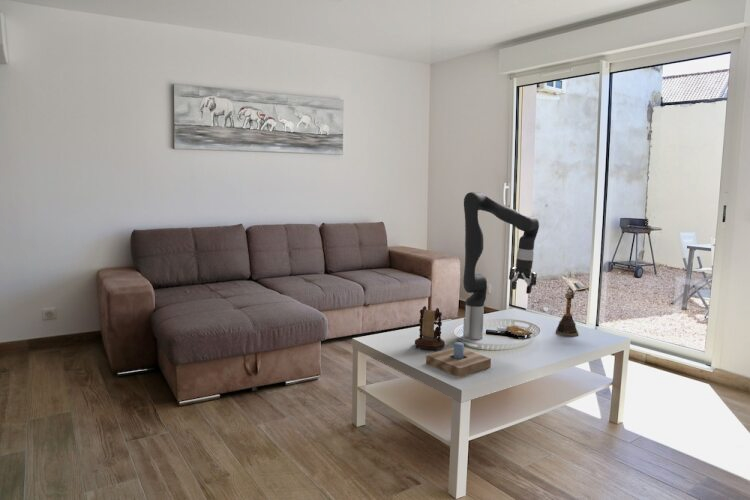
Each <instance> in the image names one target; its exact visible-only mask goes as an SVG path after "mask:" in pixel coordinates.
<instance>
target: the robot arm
mask: <svg viewBox="0 0 750 500" xmlns="http://www.w3.org/2000/svg"><path fill="white" fill-rule="evenodd" d="M463 211H464V222H465V225H464V227H465V228H464V230H465V235H464V236H465V237H464V248H465V249H464V251H465V255H464V269H463V271H464V272H463V280H462V281H463V283H462V284H463V288H464V291H465V293H470V294H471V295H470V296H469V297H467V298H466V300H465V317H463V326H462V327H463V331H462V336H463V337H465V338H466V339H469V340H481V339H483V333H484V316H485V315H484V313H485V312H484V311H485V302H486V299H487V298H486V297H487V290H488V289H487V288H488V282H487V277H486V276H485V275H484V274H482V273H476V266H477V263H478V261H479V259H480V257H481V255H482V254H483V251H484V233H483V231H482V228H481V225H480V222H479V211H483V212H488V213H490V214H492V215H494V216H495V217H496V218H498V219H499V220H501V221H502V222H505V223H508V224H509V225H512V226H514V227H515V228H516V229H518V230H519V231H522V232H523V234H522V236H520V238H519V239H518V247H517V248H518V249H517V252H516V261H515V267H510V268H509V275H508V280H510V281H511V289H512V290H517V281H518V280H519V279H521V280H523V281H524V282H525V283H526V285H527V286H526V290H525V291H526V294H527V295H530V294H531V293H532V287H533V286H537V276H538V275H537V272H532V268H533V262H534V256H535V255H534V248H535V241H536V238H537V235H538V233H539V228H540V222H539V219H538V218H537V217H535V216H526V215H524V214H521V213H520V211H518V210H516V209H513V208H512V207H508V206H506V205H504V204H501V203H499V202H497V201H495V200H494V199H491V198H490V197H489V196H487V195H485V194H484V193H482V192H478V191H477V192H474V191H472V192H467V193H466V195H465V196H464V198H463Z"/></svg>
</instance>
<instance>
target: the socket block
mask: <svg viewBox="0 0 750 500" xmlns="http://www.w3.org/2000/svg"><path fill="white" fill-rule="evenodd" d="M453 355H454V347H451V348H448V349H444V350H439V351H435V352H433V353H430V354H425V364H426V365H429V366H430V367H433V368H436V369H438V370H440V371H442V372H445V373H447V372H448V374H450V375H453V376H455V377H457V376H458V377H457V378H459V377H460V378H462V376H463V377H465V375H466V376H468V374H469V375H471V374H474V373H477V372H478V373H479V372H481V371H484V370H487V369H489V368H492V367H491V365H492V364H491V363H492V358H491V357H488V356H485V355H482V354H480V353H476V352H473V351H471V350H468V349H465V348H464V357H463V359H461V360H457V359H454V358H453Z"/></svg>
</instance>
